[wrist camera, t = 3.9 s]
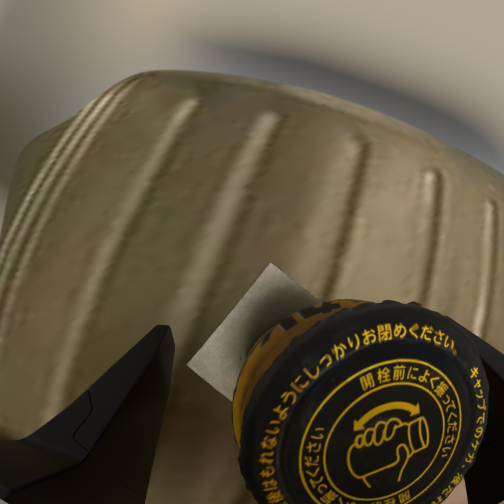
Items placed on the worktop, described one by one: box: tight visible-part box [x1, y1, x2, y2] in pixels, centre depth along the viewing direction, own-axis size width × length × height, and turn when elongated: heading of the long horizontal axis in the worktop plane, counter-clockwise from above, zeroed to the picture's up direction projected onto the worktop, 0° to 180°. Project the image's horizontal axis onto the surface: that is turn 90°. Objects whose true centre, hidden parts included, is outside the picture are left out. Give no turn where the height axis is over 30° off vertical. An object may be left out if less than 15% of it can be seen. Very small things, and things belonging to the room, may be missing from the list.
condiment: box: [187, 263, 489, 504], centre depth 10 cm, size 7×8×12 cm
